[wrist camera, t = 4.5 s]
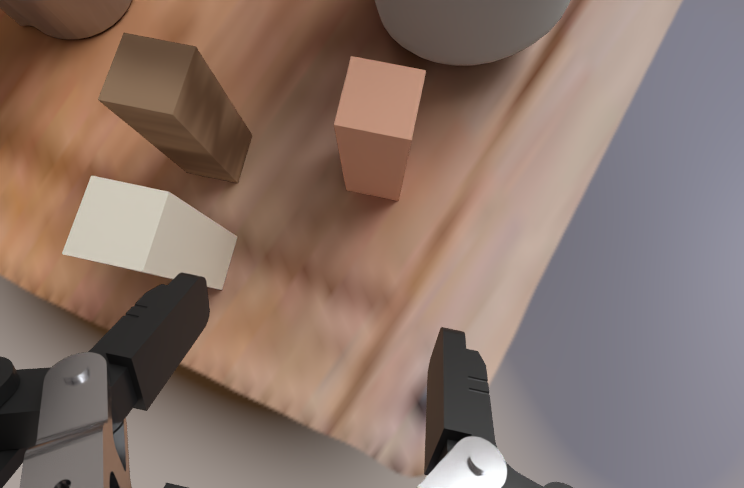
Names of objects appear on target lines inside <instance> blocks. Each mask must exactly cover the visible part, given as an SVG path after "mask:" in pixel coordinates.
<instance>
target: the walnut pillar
mask: <svg viewBox="0 0 744 488" xmlns="http://www.w3.org/2000/svg"><path fill="white" fill-rule="evenodd" d="M98 100H99V101H100V102H101V103H103V104H104V105H105V106H106V107H108V108H109V109H110V110H111V111H112V112H114V113H115V114H116V115H117V116H119V117H120V118H121V119H122V120H123V121H125V122H126V123H127V124H128V125H130V126H131V127H132V128H133V129H134V130H136V131H137V132H138V133H139V134H140V135H142V136H143V137H144V138H145V139H147V140H148V141H149V142H150V143H151V144H153V145H154V146H155V147H156V148H158V149H159V150H160V151H161V152H162V153H164V154H165V155H166V156H167V157H169V158H170V159H171V160H172V161H173V162H175V163H176V164H177V165H178V166H180V167H181V168H182V169H183V170H184V171H186V172H187V173H191V174H196V175H201V176H205V177H210V178H215V179H220V180H225V181H230V182H235V183H238V182H239V178H240V175H241V171H242V168H243V165H244V161H245V158H246V154H247V151H248V148H249V144H250V141H251V138H252V134H251V132H250V131H249V129H248V128H247V126H246V125H245V123H244V121H243V120H242V118H241V117H240V115H239V114H238V112H237V110H236V109H235V107H234V106H233V104H232V103H231V101H230V99H229V98H228V96H227V95H226V93H225V92H224V90H223V88H222V87H221V85H220V84H219V82H218V80H217V79H216V77H215V76H214V74H213V73H212V71H211V69H210V68H209V66H208V65H207V63H206V62H205V60H204V58H203V57H202V55H201V54H200V52H199V51H198V49H197V47H195V46H190V45H185V44H180V43H175V42H169V41H164V40H159V39H154V38H149V37H143V36H138V35H133V34H128V33H123V36H122V39H121V41H120V44H119V46H118V49H117V52H116V54H115V57H114V59H113V62H112V64H111V67H110V70H109V72H108V75H107V77H106V80H105V83H104V85H103V88H102V90H101V93H100V96H99V98H98Z"/></svg>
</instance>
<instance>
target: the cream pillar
mask: <svg viewBox="0 0 744 488" xmlns="http://www.w3.org/2000/svg"><path fill="white" fill-rule="evenodd" d="M236 240H237V236H236V235H234V234H233V233H231V232H230V231H228V230H227V229H225V228H224V227H222V226H221V225H219V224H217V223H216V222H214V221H213V220H211V219H210V218H208V217H207V216H205V215H204V214H202V213H201V212H199V211H198V210H196V209H195V208H193V207H192V206H190V205H189V204H187V203H185V202H184V201H182V200H181V199H179V198H178V197H176V196H175V195H173V194H172V193H170V192H168V191H163V190H158V189H153V188H149V187H144V186H139V185H134V184H129V183H125V182H120V181H115V180H110V179H105V178H101V177H96V176H91V178H90V181H89V183H88V186H87V189H86V191H85V194H84V196H83V199H82V202H81V204H80V207H79V210H78V212H77V215H76V218H75V220H74V223H73V226H72V228H71V231H70V234H69V236H68V239H67V242H66V244H65V247H64V250H63V252H62V254H64V255H68V256H73V257H77V258H81V259H86V260H90V261H95V262H99V263H103V264H108V265H112V266H116V267H121V268H125V269H129V270H134V271H138V272H143V273H147V274H151V275H156V276H160V277H164V278H169V279H174V278H175V277H176V276H177V275H178V274H179V273H182V272H183V273H188V274H192V275H197V276H202V277H205V279H206V282H207V287H210V288H214V289H219V290H222V289H223V285H224V282H225V278H226V275H227V271H228V268H229V264H230V261H231V258H232V254H233V251H234V247H235V244H236Z"/></svg>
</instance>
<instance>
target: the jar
mask: <svg viewBox="0 0 744 488" xmlns="http://www.w3.org/2000/svg"><path fill="white" fill-rule="evenodd" d="M570 1H571V0H375V3H376V6H377V9H378V12H379V15H380V18H381V21H382V24H383V26H384V27H385V29H386V30H387V31H388V33H389V34H390V36H391V37H392V38H393V39H394V40H395V41H397V42H398V43H399V44H400V45H401V46H402V47H404V48H405V49H407V50H409V51H410V52H412V53H414V54H416V55H417V56H419V57H421V58H424V59H427V60H430V61H433V62H436V63H441V64H448V65H455V66H457V65H478V64H484V63H490V62H494V61H497V60H500V59H503V58H506V57H509V56H512V55H514V54H516V53H517V52H519V51H521V50H523V49H525V48H527V47H529V46H530V45H532V44H534V43H535V42H536V41H538V40H539V39H540V38H542V37H543V36H544V35H545V34H547V33H548V32H549V31H550V30H551V29H552V28H553V27H554V25H555V24H556V23H557V22H558V21H559V20H560V19H561V17H562V15H563V14H564V12H565V10H566V8H567V6H568V5H569V3H570Z"/></svg>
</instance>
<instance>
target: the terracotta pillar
mask: <svg viewBox="0 0 744 488" xmlns="http://www.w3.org/2000/svg"><path fill="white" fill-rule="evenodd" d="M425 74H426V70H422V69H417V68H411V67H406V66H401V65H396V64H390V63H385V62H380V61H375V60H369V59H364V58H359V57H354V56H351V59H350V63H349V67H348V71H347V75H346V79H345V83H344V87H343V90H342V94H341V98H340V102H339V106H338V110H337V114H336V118H335V122H334V128H335V134H336V139H337V144H338V149H339V155H340V160H341V165H342V170H343V175H344V181H345V186H346V190H348V191H352V192H357V193H362V194H367V195H372V196H377V197H382V198H387V199H391V200H396V201H399V196H400V192H401V187H402V182H403V178H404V173H405V169H406V164H407V159H408V155H409V150H410V145H411V141H412V136H413V131H414V126H415V122H416V117H417V112H418V107H419V103H420V98H421V93H422V88H423V84H424V79H425Z"/></svg>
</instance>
